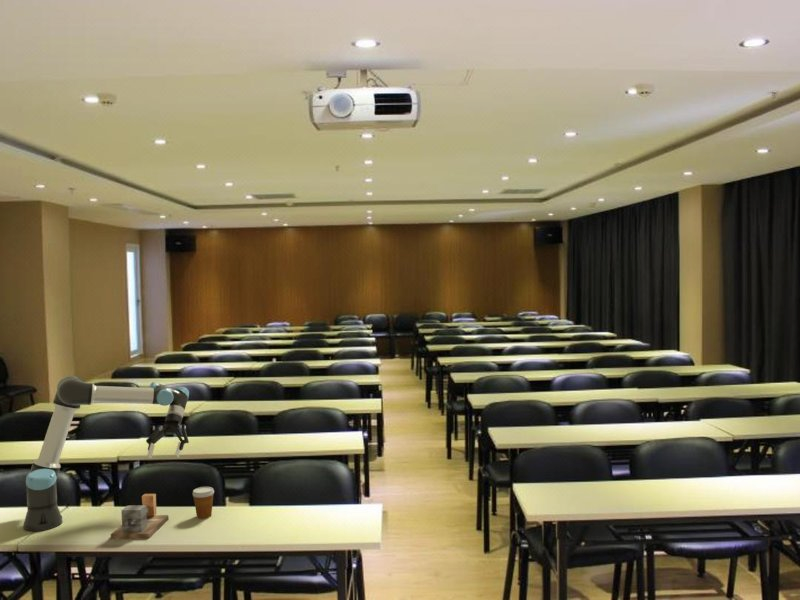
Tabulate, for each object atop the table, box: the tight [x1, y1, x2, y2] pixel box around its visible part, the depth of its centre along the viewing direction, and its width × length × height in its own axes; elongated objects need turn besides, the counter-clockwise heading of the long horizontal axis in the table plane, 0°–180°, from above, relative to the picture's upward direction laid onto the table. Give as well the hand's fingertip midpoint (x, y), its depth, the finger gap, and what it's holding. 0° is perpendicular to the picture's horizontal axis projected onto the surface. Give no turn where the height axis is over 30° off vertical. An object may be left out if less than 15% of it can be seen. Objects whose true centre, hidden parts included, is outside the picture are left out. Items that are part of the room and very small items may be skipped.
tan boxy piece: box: [141, 493, 158, 516], centre depth 304 cm, size 5×13×9 cm, turn 178°
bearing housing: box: [110, 504, 170, 540], centre depth 299 cm, size 16×22×11 cm
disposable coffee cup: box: [192, 486, 215, 520], centre depth 313 cm, size 10×10×12 cm
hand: (162, 456), depth 324 cm, fingers open, 13 cm apart
